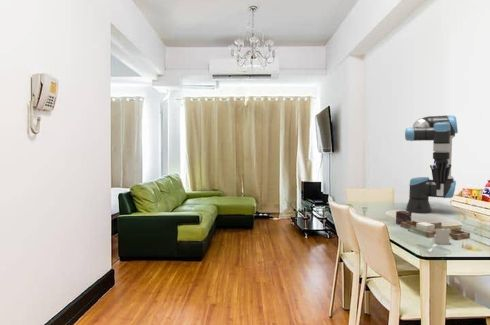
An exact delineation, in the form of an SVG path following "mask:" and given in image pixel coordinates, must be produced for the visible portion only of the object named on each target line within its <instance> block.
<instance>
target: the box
mask: <svg viewBox="0 0 490 325" xmlns="http://www.w3.org/2000/svg"><path fill="white" fill-rule="evenodd" d="M412 213H413V212H410V211H407V210H398V211H396V212H395V214H396V215H395V224H397V225H401V222H407V221H412Z"/></svg>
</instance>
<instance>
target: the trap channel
mask: <svg viewBox="0 0 490 325" xmlns="http://www.w3.org/2000/svg"><path fill="white" fill-rule="evenodd" d="M416 223H420V222H419V221H416V220H411V221H407V222H401V225H400V224H399V225H400V228H404V229H407V232H411V233H413V234H416V235H420V236H422V237H426V238H433V237H434V235H435V233H436V230H435V231H430V232H427V231H424V230H421V229H417V228H416ZM430 224H434V225H435V229H437V228H436V227H439V228H442V222H439V221H438V222H432V223H430ZM470 235H471V233H470V232H467V231H464V230H462V228H461V227H451V228H450V231H449V236H451V237H452V239H451V240H454V241H460V240H465V239H466V240H467V239H470V238H471V236H470Z"/></svg>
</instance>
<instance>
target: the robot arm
mask: <svg viewBox="0 0 490 325" xmlns="http://www.w3.org/2000/svg"><path fill="white" fill-rule="evenodd" d="M458 132H459V130H458V123H457V117H456V116H455V115H435V116H434V115H431V116H430V115H429V116H424V117H422V118H419V119H416V120H415V122H414V123H413V124H412V127H407V128H405V130H404V138H405V140H406V141H410V142H414V141H415V142H416V141H418V142H419V141H420V142H421V141H429V142H430V141H433V143H432V144H433V147H432V151H433V152H432V159H433V160H434V161H433V164H430V166H429V168H430V169H431V175H432V176H431V177H432V179H430V178H429V176H423V177H422V176H420V177H413V178H411V179H410V180H409V184H408V185H409V195H408V196H409V197H408V198H409V199H408V201H407V205H406V206H405V207H406V208H405V211H408V212H412V213H414V214H415V213H417V214H431V212H432V207H431V205H430V200H429V198H444V199H452V198H454V195H455V191H456V185H457V181H456V180H455V179H454V177H453V176H452V154H453V152H452V151H453V150H452V149H453V138H454V137H456V134H458Z"/></svg>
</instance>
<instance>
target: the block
mask: <svg viewBox="0 0 490 325" xmlns="http://www.w3.org/2000/svg"><path fill="white" fill-rule="evenodd" d="M416 228H417V229H421V230H424V231H427V232H430V231H436V228H435V225H434V224H430V223H429V222H426V221H422V222H419V223H416Z"/></svg>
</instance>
